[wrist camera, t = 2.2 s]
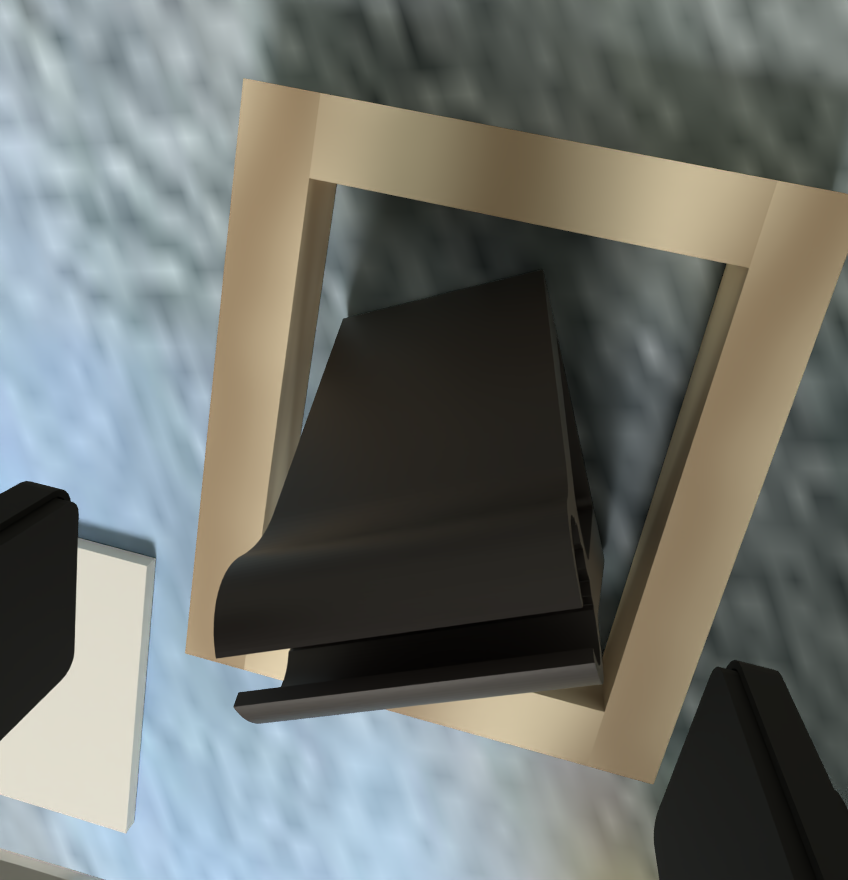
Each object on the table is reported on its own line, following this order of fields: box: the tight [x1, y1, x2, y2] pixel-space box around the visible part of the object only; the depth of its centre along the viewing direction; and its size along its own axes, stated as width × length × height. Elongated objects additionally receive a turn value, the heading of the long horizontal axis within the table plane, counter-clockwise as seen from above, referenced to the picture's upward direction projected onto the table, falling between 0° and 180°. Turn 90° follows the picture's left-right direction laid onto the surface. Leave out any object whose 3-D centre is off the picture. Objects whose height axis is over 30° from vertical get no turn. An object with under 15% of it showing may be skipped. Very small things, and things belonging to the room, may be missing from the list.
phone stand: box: [214, 269, 604, 724], centre depth 17 cm, size 9×6×12 cm, turn 14°
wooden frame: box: [185, 78, 848, 784], centre depth 22 cm, size 15×17×2 cm
